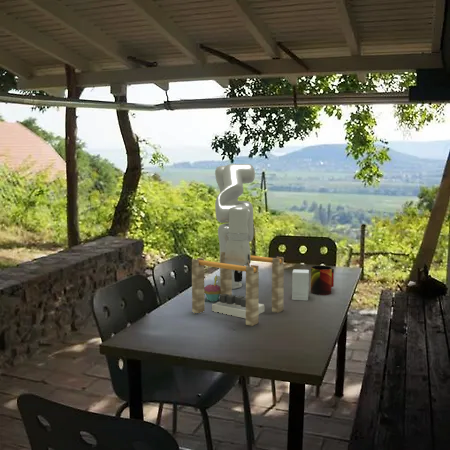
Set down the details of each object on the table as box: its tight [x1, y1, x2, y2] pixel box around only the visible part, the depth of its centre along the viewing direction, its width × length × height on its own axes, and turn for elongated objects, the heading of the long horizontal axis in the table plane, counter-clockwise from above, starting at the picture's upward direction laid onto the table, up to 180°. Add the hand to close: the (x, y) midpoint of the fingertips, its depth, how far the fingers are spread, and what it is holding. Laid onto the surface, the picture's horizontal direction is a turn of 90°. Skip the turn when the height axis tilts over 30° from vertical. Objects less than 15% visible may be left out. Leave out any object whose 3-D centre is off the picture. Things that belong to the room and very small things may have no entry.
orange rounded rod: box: [199, 260, 256, 273], centre depth 194 cm, size 29×2×2 cm, turn 55°
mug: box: [310, 265, 335, 296], centre depth 235 cm, size 10×14×12 cm
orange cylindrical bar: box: [251, 255, 282, 264], centre depth 210 cm, size 29×2×2 cm, turn 55°
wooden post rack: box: [191, 252, 285, 327], centre depth 203 cm, size 29×24×22 cm
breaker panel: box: [211, 294, 265, 319], centre depth 204 cm, size 18×12×6 cm, turn 55°
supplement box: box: [291, 268, 310, 302], centre depth 223 cm, size 7×7×13 cm
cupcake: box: [204, 274, 221, 302], centre depth 221 cm, size 9×8×12 cm
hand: (238, 281), depth 202 cm, fingers closed
